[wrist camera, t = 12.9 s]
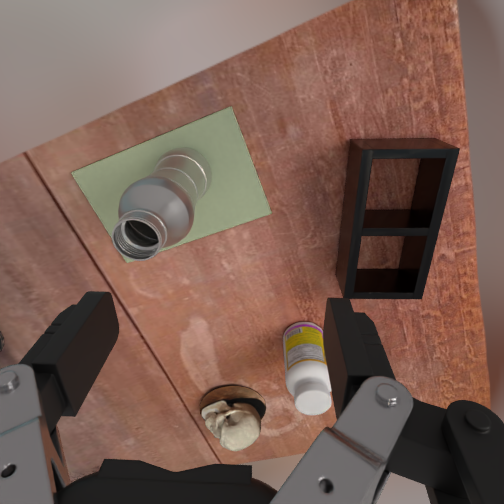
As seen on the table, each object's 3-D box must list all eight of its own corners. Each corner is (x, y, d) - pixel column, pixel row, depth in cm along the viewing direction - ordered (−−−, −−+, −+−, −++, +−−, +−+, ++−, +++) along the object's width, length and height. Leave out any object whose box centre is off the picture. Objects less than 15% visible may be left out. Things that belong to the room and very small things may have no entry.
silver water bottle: (157, 143, 43) (81, 198, 25) (213, 143, 42) (176, 199, 25) (163, 194, 46) (99, 276, 28) (216, 195, 45) (184, 277, 28)
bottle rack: (350, 138, 42) (362, 149, 37) (435, 137, 42) (460, 148, 37) (335, 274, 51) (343, 299, 46) (405, 274, 51) (421, 299, 45)
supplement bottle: (318, 354, 58) (330, 424, 47) (278, 348, 58) (281, 417, 47) (329, 323, 55) (345, 389, 44) (287, 316, 55) (293, 381, 44)
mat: (231, 105, 41) (231, 106, 40) (271, 212, 47) (271, 213, 46) (72, 171, 45) (70, 172, 45) (128, 261, 51) (126, 263, 51)
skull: (200, 435, 67) (190, 451, 57) (206, 378, 70) (197, 384, 60) (263, 441, 67) (263, 458, 57) (266, 383, 69) (267, 389, 59)
